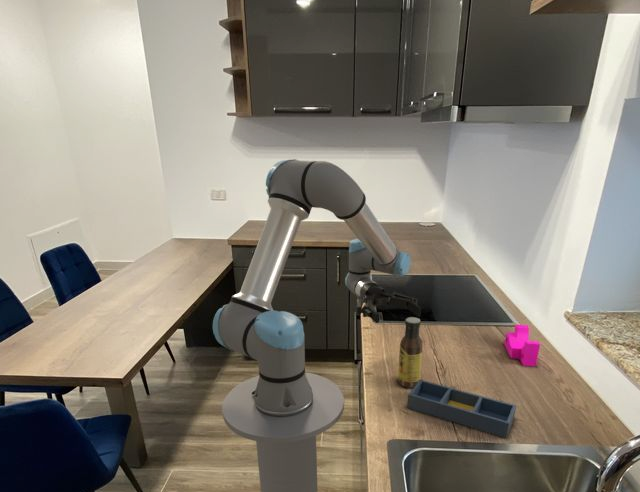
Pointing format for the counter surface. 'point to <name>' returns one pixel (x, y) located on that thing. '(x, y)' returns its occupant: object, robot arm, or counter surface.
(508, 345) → the toy block
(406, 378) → the sauce bottle
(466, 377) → the counter surface
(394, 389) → the counter surface
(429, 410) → the compartment tray
